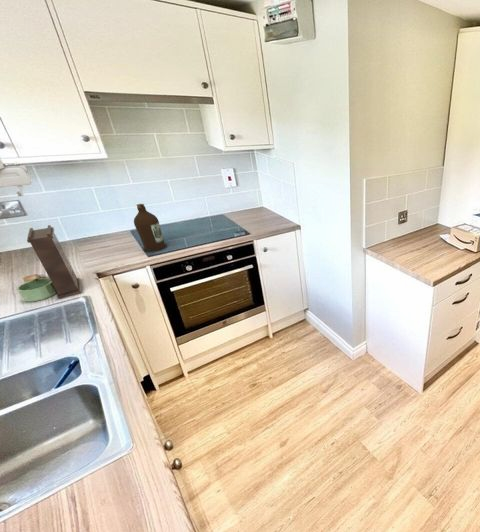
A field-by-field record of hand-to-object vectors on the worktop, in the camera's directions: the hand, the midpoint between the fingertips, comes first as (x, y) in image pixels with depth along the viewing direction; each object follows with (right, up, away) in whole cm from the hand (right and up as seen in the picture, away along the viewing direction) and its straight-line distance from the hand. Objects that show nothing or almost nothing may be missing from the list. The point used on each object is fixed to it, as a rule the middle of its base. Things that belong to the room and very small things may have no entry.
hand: (5, 197), depth 139 cm
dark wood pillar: (+28, -40, 0) cm, 49 cm away
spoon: (+15, -36, -1) cm, 39 cm away
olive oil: (+35, -20, +40) cm, 57 cm away
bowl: (+21, -42, -5) cm, 47 cm away
